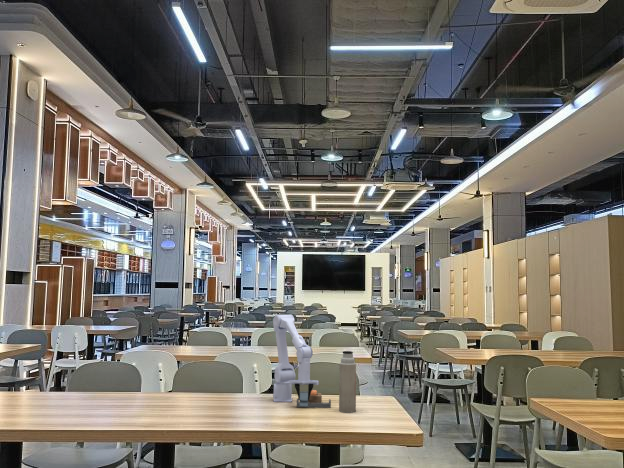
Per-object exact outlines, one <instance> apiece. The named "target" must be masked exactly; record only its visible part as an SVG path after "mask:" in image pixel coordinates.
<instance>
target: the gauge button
mask: <svg viewBox="0 0 624 468" xmlns="http://www.w3.org/2000/svg"><path fill="white" fill-rule="evenodd" d="M317 393H318V391H317V390H316V389H312V391H311V395H317Z"/></svg>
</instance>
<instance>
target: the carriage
mask: <svg viewBox="0 0 624 468" xmlns="http://www.w3.org/2000/svg"><path fill="white" fill-rule="evenodd" d="M299 402H300V406H308V391H302V390H301V391H300V400H299Z"/></svg>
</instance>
